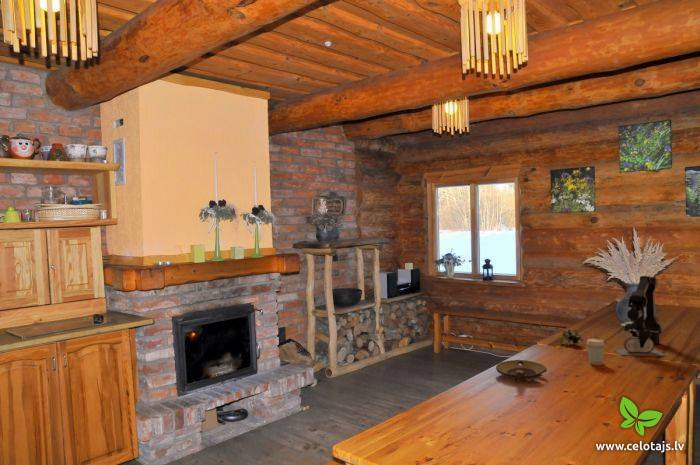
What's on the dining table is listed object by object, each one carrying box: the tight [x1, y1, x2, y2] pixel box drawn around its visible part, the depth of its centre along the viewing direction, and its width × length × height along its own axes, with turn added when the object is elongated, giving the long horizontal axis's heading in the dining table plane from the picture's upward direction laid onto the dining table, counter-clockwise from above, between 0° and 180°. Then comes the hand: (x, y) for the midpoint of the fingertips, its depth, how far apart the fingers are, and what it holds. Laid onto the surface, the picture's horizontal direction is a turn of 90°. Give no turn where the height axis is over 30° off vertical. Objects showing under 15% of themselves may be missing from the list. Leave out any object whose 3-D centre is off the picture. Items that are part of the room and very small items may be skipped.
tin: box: [622, 336, 655, 353], centre depth 282 cm, size 15×3×8 cm, turn 82°
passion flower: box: [557, 328, 584, 346], centre depth 304 cm, size 11×11×12 cm
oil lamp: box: [495, 359, 548, 383], centre depth 242 cm, size 22×30×8 cm
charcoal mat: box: [612, 348, 666, 357], centre depth 283 cm, size 22×12×1 cm, turn 82°
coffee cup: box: [586, 338, 606, 366], centre depth 264 cm, size 8×8×12 cm
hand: (638, 345), depth 283 cm, fingers open, 8 cm apart
